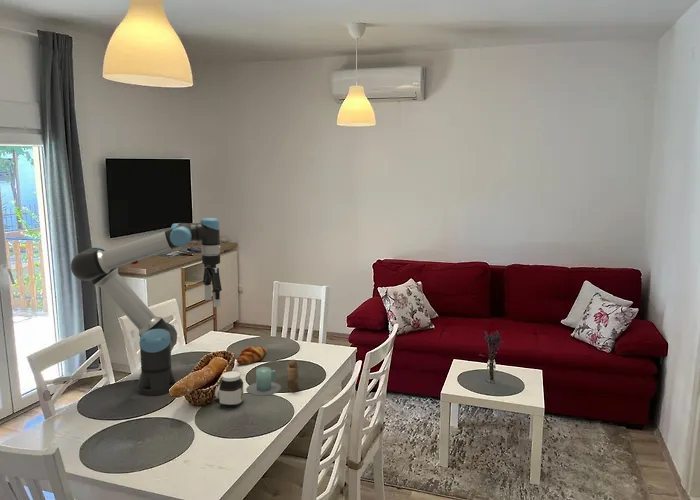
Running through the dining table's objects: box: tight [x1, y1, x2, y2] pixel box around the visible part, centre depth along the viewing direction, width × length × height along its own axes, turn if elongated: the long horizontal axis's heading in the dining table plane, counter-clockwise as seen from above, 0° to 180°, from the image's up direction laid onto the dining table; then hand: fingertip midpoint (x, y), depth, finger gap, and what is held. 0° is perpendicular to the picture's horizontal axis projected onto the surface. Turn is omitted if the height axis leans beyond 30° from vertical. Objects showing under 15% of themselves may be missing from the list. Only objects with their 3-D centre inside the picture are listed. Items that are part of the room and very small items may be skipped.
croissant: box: [236, 345, 267, 365], centre depth 256 cm, size 21×10×8 cm, turn 154°
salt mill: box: [286, 359, 300, 393], centre depth 220 cm, size 4×4×13 cm
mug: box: [255, 366, 277, 391], centre depth 222 cm, size 8×6×8 cm
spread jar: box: [214, 371, 244, 408], centre depth 208 cm, size 12×11×12 cm
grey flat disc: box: [245, 381, 282, 397], centre depth 222 cm, size 14×14×1 cm
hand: (212, 303), depth 234 cm, fingers open, 13 cm apart
